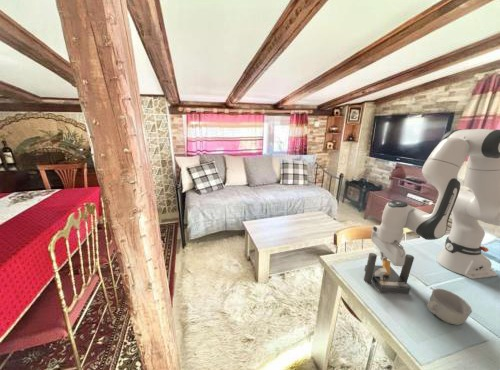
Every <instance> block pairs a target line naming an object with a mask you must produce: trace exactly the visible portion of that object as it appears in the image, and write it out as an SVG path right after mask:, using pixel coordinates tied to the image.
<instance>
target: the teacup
mask: <svg viewBox="0 0 500 370" xmlns="http://www.w3.org/2000/svg"><path fill="white" fill-rule="evenodd" d="M426 308H427V309H428V311H430V312H431V313H432V314H433V315H435V316H436V317H437V318H438V319H440V320H442V321H443V322H445V323H448V324H452V325H457V326H458V325H462V324H464V323H465V322H466V321H467V319H469V316H470V315H471V314H472V312H473V310H472V307H471V305H470V304H469V303H468V302H467V301H466V300H465V299H464V298H462V297H461V296H459V295H458V294H456V293H454V292H452V291H450V290H447V289H443V288H435V289H432V292H431V295H430V297H429V300H428V302H427V304H426Z"/></svg>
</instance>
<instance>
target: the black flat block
mask: <svg viewBox="0 0 500 370" xmlns="http://www.w3.org/2000/svg"><path fill="white" fill-rule="evenodd" d="M366 267H367V264H365V267H364V272H365V271H366ZM379 268H383V265H376V264H375V267H374V271H373V276H372V280H371V282H372V283H373V284H374V285H375V287H376V289H377V290H378V292H379V293H381V294H404V295H409V294H410V291H411V287H410V286H409V285H408V284H407V283H405V282H404V281H403V280H402V278H401V277H400V274H398V273H397V272H396V271H395V270H394V269H393V267H392V266H391V265H390V275H382V276H381V277H377V276H374V272H376V271H377V270H378V269H379Z"/></svg>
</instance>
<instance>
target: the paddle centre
mask: <svg viewBox="0 0 500 370" xmlns="http://www.w3.org/2000/svg"><path fill="white" fill-rule="evenodd" d="M382 266H383V268H386V271H387V272H386V273H385V274H384V275H390V266H391V262H390V260H389V259H387V260H383V261H382Z"/></svg>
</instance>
